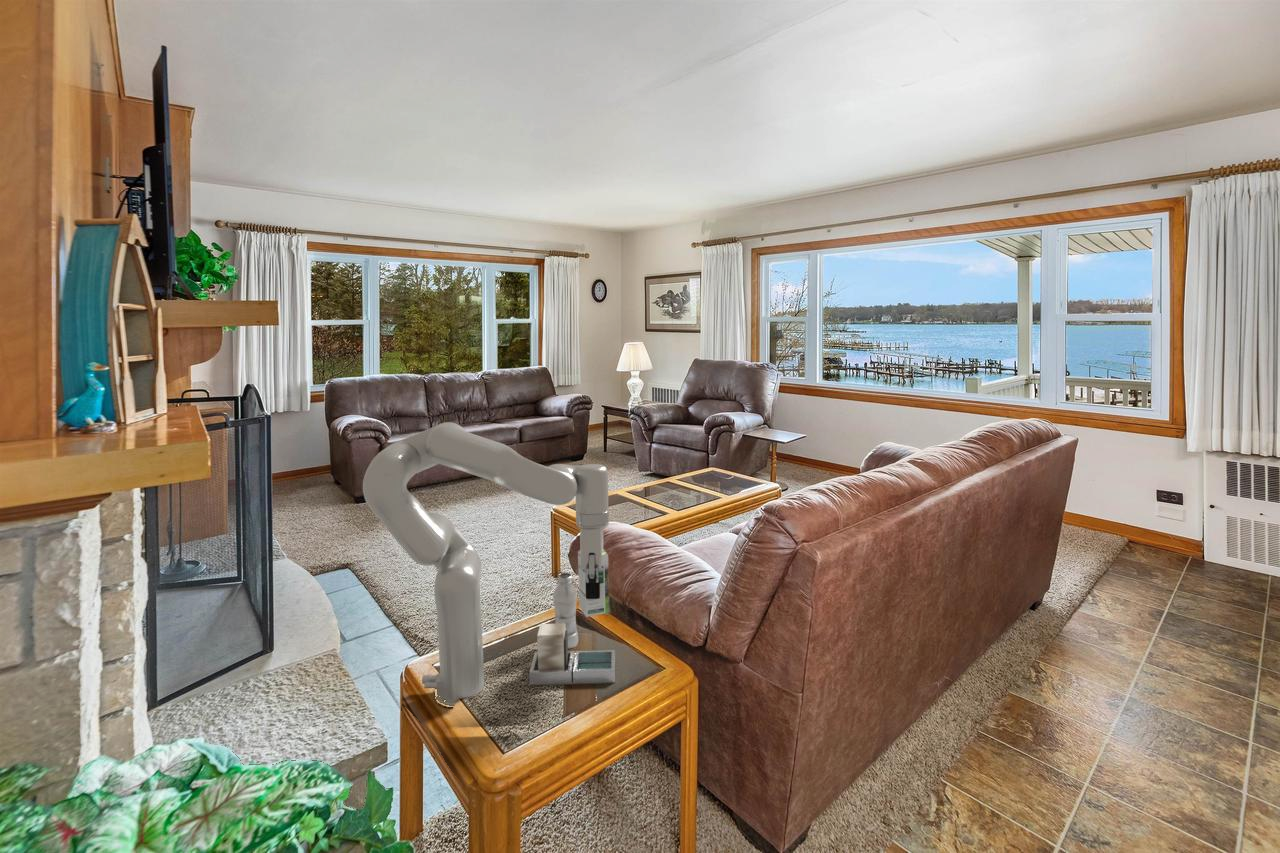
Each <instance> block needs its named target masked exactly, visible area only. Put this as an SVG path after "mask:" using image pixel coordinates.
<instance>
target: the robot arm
mask: <svg viewBox="0 0 1280 853" xmlns="http://www.w3.org/2000/svg"><path fill="white" fill-rule="evenodd" d="M438 465H442V466H445V467H448V468H451V469H454V470H458V471H462V472H464V473H467V474H470V475H473V476H476V477H479V478H482V479H485V480H488V481H492V482H493V483H495V484H497V485H498V486H501V487H504V488H507V489H509V490H511V491H513V492H516V493H518V494H521V495H523V496H525V497H528V498H530V499H534V500H538V501H540V502H543V503H548V504H550V505H554V506H555V505H556V506H563V505H566V504H569V503H570V502H572V501H573V499H574V498H575V525H576V527H578V528H580V530H579V531H580V532H579V533H580V534H579V536H580V538H579V550H580V569H581V570H582V571H583V569H586V599H599V598H600V581H599V570H600V569H601V566H602V558H603V550H604V536H605V535H604V533H605V532H604V528H605V527H608V526H609V524H610V523H609V514H610V513H609V473H608V472H609V471H608V468H607V466H605V465H603V464H598V463H587V464H582V465H579V464H578V465H575V464H565V463H555V464H551V465H549V466H546V465H543V464H540V463H537V462H536V461H533V460H530V459H528V458H526V457H524V456H522V455H521V454H520V453H518V452H517V451H516V450H514V449H513V448H512V447H510V446H508V445H506V444H504V443H502V442H499V441H495V440H493V439H489V438H486V437H483V436H480V435H478V434H474V433H472V432H469V431H466V430H465V429H464V427H462V426H461V425H460V424H458V423H456V422H452V421H451V422H449V421H448V422H447V421H445V422H442V423H438V424H437V425H434V426H432V427H430V428H428V429H426V430H423V431H420V432H418V433H415V434H413V435H411V436H408V437H406V438H405V437H404V438H402V439H400V440H397V441H396V442H393V443H391V444H389V445H388V446H386V447H385V448H384V449H382V450H380V452H378V453H377V454H376V455H375V456H374V458H373V459H372V460H371V461H370V463H369V465H368V467H367V468H366V471H365V474H364V476H363V479H362V480H363V481H362V492H363V497H364V501H365V503H366V504H367V506H368V507H369V509H370V510H371V512H372V513H373V514H374V515H375V516H376V518H377V519H378V520H379V522H380V523H381V524H382V525H383V526H384V527H385V528H386V530H387V531H388V532H389V533H390V535H391V536H392V537H393V538H394V540H395V541H396V543H398V544H399V546H401V548H402V549H403V550H404V551H405V553H406V554H407V555H408V556H409V558H411V559H412V561H414V563H416V564H419V565H421V566H425V567H427V566H428V567H429V566H434V568H435V569H437V572H436V575H435V580H434V589H433V591H434V602H435V603H434V604H435V608H436V609H435V611H436V620H437V624H436V625H437V637H438V638H437V639H438V640H437V641H438V656H439V672H438V673H436V674H423V675H422V678H421V684H422V685H423V688H424V689H426V690H427V689H434V690H435V689H437V695H438V696H437V697H436V696H435V697H436V700H438V701H439V702H440V703H443V704H445V705H449V706H454V707H455V705H456V703H457V701H458V700H461V699H466V698H470V697H473V696H475V695H477V694H478V693H480V692H481V691H483V688H485V677H484V676H485V672H484V671H485V670H484V669H485V668H484V650H483V649H484V647H483V645H484V644H483V627H482V626H483V625H482V609H481V608H482V605H481V604H482V603H481V577H482V560H481V557H480V555H479V554H478V553H477V551H476V550H475V549H474V547H473V546H472V545H471V544H470V542H469V541H468V539H467V538H466V537H465V536H464V535H463V534H462V533H461V531H460V530H459V529H458V528H457V526H456V525H455V524H454V523H453V522H452V520H450V518H448V517H446V515H443V514H441V513H438V512H428V511H427V510H426V509H425V508H424V507H423V505H422V504H421V502H420V501H419V500H418V499H417V498H416V497H415V496H414V495H413V494H412V493H411V492H410V491H409V490H408V487H407V485H408V483H409V481H410V480H411V479H412V478H413V477H414V476H415V475H416V474H418V473H420V472H423V471H425V470H428V469H431V468H432V467H435V466H438ZM588 565H589V568H588ZM595 566H597V568H595ZM595 571H596V573H595ZM439 696H440V697H439ZM444 700H446V701H445V702H444Z"/></svg>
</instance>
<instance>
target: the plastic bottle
mask: <svg viewBox="0 0 1280 853" xmlns="http://www.w3.org/2000/svg"><path fill="white" fill-rule="evenodd" d="M572 583H573V578H572V574H571V573H569V572H562V573H559V574H558V575H557V586H556V587H555V589H554V591H553V595H552V602H553V605H554V615H555V617H554V618H555V624H564V623H565V625H566V630H568V650H570V649H572V648H575V647H576V646H578V644H579V634H578V630H577V620H576V616H577V615H576V613H577V602H578V600H577V599H578V592H577V590H576V588H575V586H573V584H572Z"/></svg>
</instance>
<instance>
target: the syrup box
mask: <svg viewBox="0 0 1280 853" xmlns="http://www.w3.org/2000/svg"><path fill="white" fill-rule="evenodd" d="M577 562H578V563H577V566H578V567H577V568H578V571H577V572H578V596H579V597H578V598H579V599H578V600H579V606H578V607H579V609H580V610H581V612H582V614H583V615H584V616H585V617H586V618H589V617H594V616H599V615H605V614H609V613H610V591H609V590H610V588H609V586H610V585H609V584H610V582H609V555H608V552H606V550H605V549H603V558H602V566H601V569H600V570H599V581H600V598H599V599H586V569H583V571H582V570H581V569H580V549H579V550H577ZM588 568H589V565H588ZM595 568H597V566H595ZM595 573H596V571H595Z"/></svg>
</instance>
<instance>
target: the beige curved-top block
mask: <svg viewBox="0 0 1280 853" xmlns="http://www.w3.org/2000/svg"><path fill="white" fill-rule="evenodd" d="M536 638H537V641H536V642H537V652H538V670H566V668H567V662H568V651H569V649H568V630H566V625H565V623H564V624H556V623H540V624H539V628H538V631H537V635H536Z"/></svg>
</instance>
